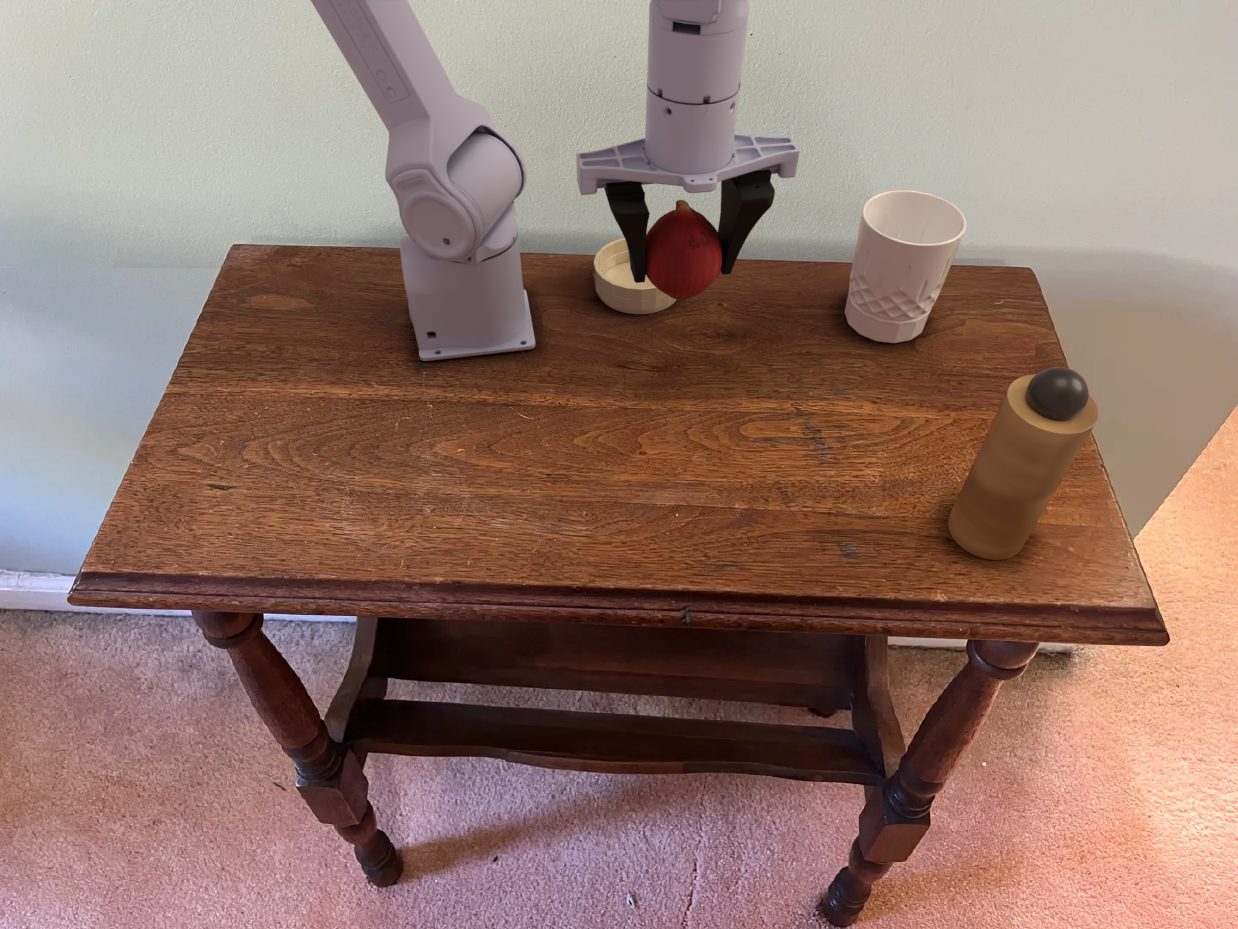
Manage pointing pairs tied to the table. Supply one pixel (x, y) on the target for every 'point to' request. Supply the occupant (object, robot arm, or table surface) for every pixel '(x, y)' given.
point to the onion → (683, 253)
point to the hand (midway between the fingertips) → (680, 270)
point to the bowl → (625, 282)
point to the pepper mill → (1022, 462)
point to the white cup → (901, 263)
